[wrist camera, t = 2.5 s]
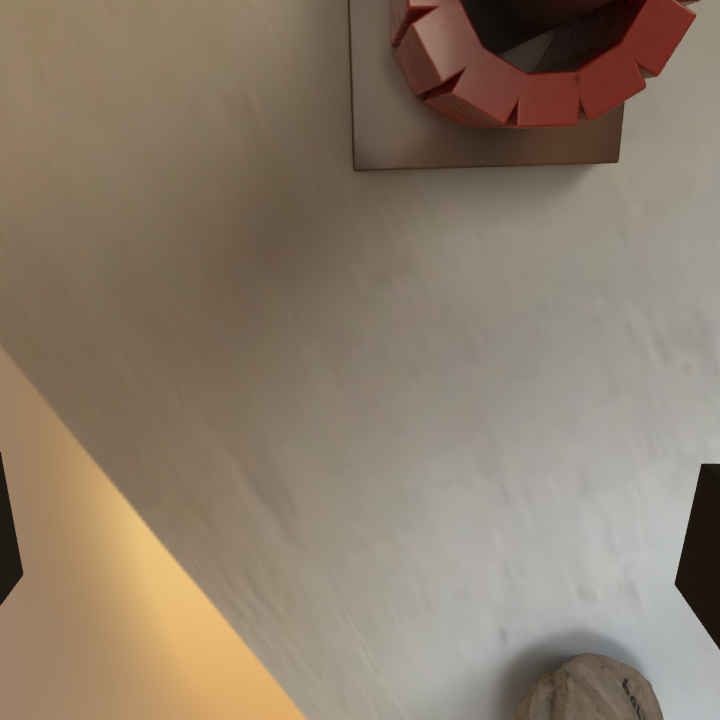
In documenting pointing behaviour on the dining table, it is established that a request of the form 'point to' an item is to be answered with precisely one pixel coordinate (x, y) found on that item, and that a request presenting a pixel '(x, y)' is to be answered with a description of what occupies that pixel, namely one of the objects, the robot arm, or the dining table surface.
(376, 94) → the ring holder
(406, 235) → the dining table surface
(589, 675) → the fossil
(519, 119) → the ring
